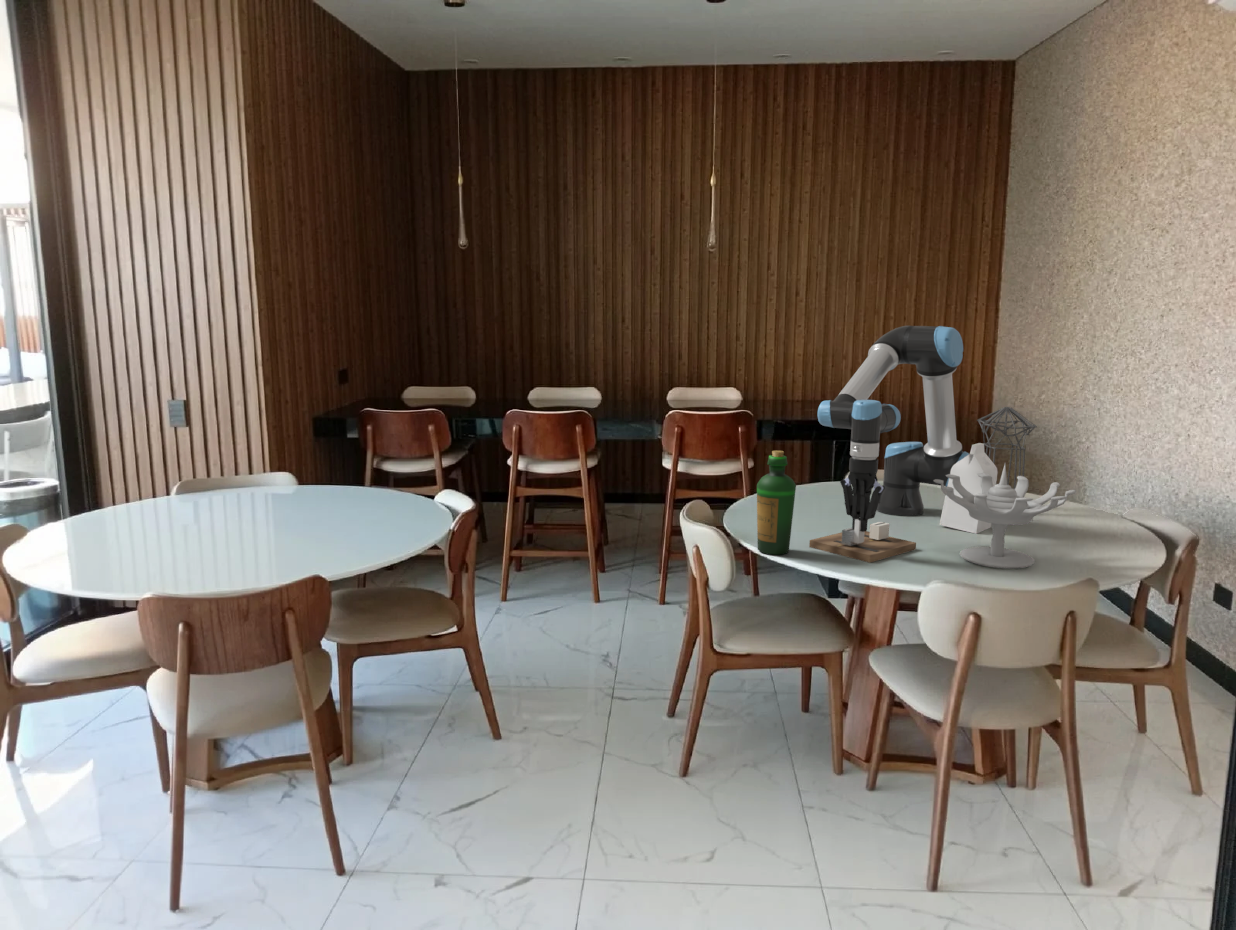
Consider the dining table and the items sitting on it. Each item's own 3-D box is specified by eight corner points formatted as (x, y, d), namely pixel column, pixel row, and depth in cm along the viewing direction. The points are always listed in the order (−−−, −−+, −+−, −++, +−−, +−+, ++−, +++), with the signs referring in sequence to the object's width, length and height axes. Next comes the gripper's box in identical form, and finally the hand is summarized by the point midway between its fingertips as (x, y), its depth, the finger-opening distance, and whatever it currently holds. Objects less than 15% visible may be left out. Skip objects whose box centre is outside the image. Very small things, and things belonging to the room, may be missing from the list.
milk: (954, 518, 292) (967, 438, 286) (990, 527, 284) (1004, 445, 279) (939, 524, 283) (951, 442, 277) (976, 533, 276) (989, 449, 270)
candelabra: (913, 565, 241) (921, 463, 236) (947, 538, 269) (955, 447, 265) (1054, 588, 222) (1066, 479, 217) (1075, 557, 251) (1085, 459, 246)
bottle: (751, 546, 257) (755, 447, 252) (789, 546, 257) (794, 448, 252) (756, 556, 247) (760, 454, 242) (795, 557, 246) (801, 454, 242)
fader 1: (841, 543, 252) (842, 529, 251) (852, 541, 255) (853, 526, 254) (850, 546, 249) (851, 531, 249) (861, 543, 253) (862, 528, 252)
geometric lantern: (968, 503, 318) (976, 403, 312) (1014, 505, 317) (1024, 405, 311) (981, 513, 303) (990, 408, 297) (1030, 515, 301) (1040, 410, 295)
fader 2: (869, 537, 259) (870, 523, 258) (879, 535, 262) (880, 521, 261) (878, 540, 256) (879, 525, 256) (888, 537, 260) (889, 523, 259)
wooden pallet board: (809, 546, 257) (809, 539, 257) (855, 535, 271) (856, 528, 271) (869, 562, 242) (870, 555, 242) (915, 549, 256) (916, 542, 256)
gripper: (835, 455, 249) (830, 539, 253) (876, 462, 239) (871, 549, 243) (851, 453, 254) (847, 535, 258) (892, 459, 244) (887, 544, 248)
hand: (858, 542), depth 250 cm, fingers closed
